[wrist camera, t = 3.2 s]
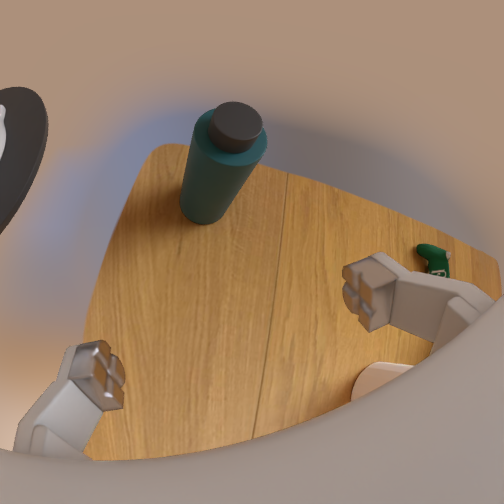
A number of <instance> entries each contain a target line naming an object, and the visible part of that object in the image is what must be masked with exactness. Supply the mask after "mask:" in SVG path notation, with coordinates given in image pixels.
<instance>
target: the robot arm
mask: <svg viewBox="0 0 504 504" xmlns="http://www.w3.org/2000/svg"><path fill="white" fill-rule="evenodd" d="M5 112H6V109H5V107H4V106H3V105H0V159H1V157H2V154H3V151H4V147H5V142H6V130H5V126H4V117H5ZM342 277H343V278H344V279H345V280H346V282H345V284H344V286H343V288H342V291H343V298H344V302H345V304H346V306H347V308H348V309H349V310H350V312H351V313H354V314H357V315H359V319H358V321H359V322H360V323H361V324H362V326H363V327H364V328H365V329H366V330H367V331H368V332H369V333H370V332H372V331H374V330H376V329H378V328H380V327H382V326H385V325H387V324H390V325H392V326H394V327H397V328H399V329H401V330H404V331H406V332H409V333H411V334H413V335H416V336H418V337H421V338H423V339H425V340H428V341H430V342H433V343H434V344H433V346H432V349H431V352H430V355H429V356H428V357H427V358H426V359H424V360H423V361H421V362H420V363H418V364H417V365H415V366H413V367H412V368H410V369H409V370H407V371H406V372H404V373H402V374H401V375H399V376H397V377H396V378H394V379H392V380H391V381H389V382H387V383H385V384H383V385H382V386H380V387H378V388H376V389H374V390H373V391H371V392H369V393H367V394H365V395H363V396H361V397H359V398H357V399H355V400H353V401H351V402H349V403H347V404H345V405H342V406H340V407H338V408H336V409H334V410H331V411H329V412H327V413H324V414H322V415H320V416H317V417H315V418H312V419H310V420H307V421H305V422H302V423H300V424H297V425H294V426H291V427H289V428H286V429H283V430H280V431H277V432H274V433H271V434H268V435H264V436H261V437H258V438H254V439H251V440H247V441H244V442H240V443H236V444H232V445H228V446H223V447H219V448H214V449H210V450H205V451H200V452H194V453H188V454H182V455H175V456H167V457H159V458H149V459H136V460H113V461H94V460H92V458H90V457H88V456H87V455H85V454H84V453H82V452H83V450H84V449H85V447H86V445H87V443H88V441H89V439H90V437H91V435H92V433H93V431H94V429H95V428H96V426H97V424H98V422H99V420H100V418H101V416H102V415H103V412H104V411H111V410H118V409H123V403H124V392H123V391H122V389H121V387H122V386H123V385H124V383H125V371H124V367H123V365H122V363H121V361H120V360H119V358H118V357H117V356H115V355H113V354H111V353H110V352H111V347H110V346H109V345H108V343H107V342H106V341H104V340H98V341H94V342H89V343H84V344H80V345H75V346H70V347H68V348H67V349H66V352H65V354H64V357H63V360H62V363H61V366H60V369H59V373H58V376H57V380H56V381H54V382H52V383H51V384H50V386H49V387H48V388H47V389H46V390H45V392H44V393H43V394H42V395H41V396H40V398H39V399H38V400H37V401H36V402H35V403H34V405H33V406H32V407H31V408H30V409H29V411H28V412H27V413H26V414H25V416H24V417H23V418H22V419H21V421H20V422H19V424H18V428H17V432H16V437H15V442H14V447H13V451H8V450H4V449H0V504H504V294H503V295H502V296H501V297H500V298H499V299H498V300H497V301H494V300H493V299H492V298H491V297H489V296H488V295H487V294H485V293H484V292H483V291H482V290H480V289H479V288H478V287H476V286H475V285H474V284H472V283H468V282H463V281H459V280H454V279H450V278H445V277H440V276H435V275H431V274H426V273H421V272H416V271H413V272H410V271H408V270H407V269H405V268H404V267H403V266H401V265H400V264H399V263H397V262H396V261H395V260H393V259H392V258H390V257H389V256H388V255H386V254H385V253H384V252H378V253H375V254H373V255H370V256H368V257H367V258H364V259H362V260H359V261H356V262H354V263H351V264H348V265H346V266H343V270H342Z"/></svg>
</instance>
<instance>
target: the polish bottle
mask: <svg viewBox="0 0 504 504" xmlns="http://www.w3.org/2000/svg"><path fill="white" fill-rule="evenodd" d="M266 148H267V136H266V132H265V130H264V128H263V122H262V119H261V117H260V115H259V114H258V113H257V111H256V110H254V109H253V108H252V107H250V106H248V105H246V104H243V103H240V102H226V103H223V104H221V105H219V106H218V107H217V108H216V109H212V110H209V111H208V112H206V113H204V114H203V115H202V116H201V117H200V118H199V119H198V121H197V122H196V124H195V127H194V131H193V136H192V140H191V144H190V149H189V154H188V158H187V163H186V168H185V173H184V179H183V184H182V189H181V195H180V207H181V210H182V212H183V213H184V215H185V216H186V217H187V218H188V219H189V220H191V221H193V222H195V223H198V224H211V223H214V222H216V221H218V220H219V219H220V218H221V217H222V216H223V215H224V213H225V212H226V210H227V209H228V207H229V205H230V204H231V202H232V201H233V199H234V198H235V196H236V195H237V193H238V192H239V190H240V189H241V187H242V186H243V184H244V183H245V181H246V180H247V178H248V177H249V175H250V174H251V172H252V171H253V169H254V168H255V166H256V165H257V163H258V162H259V160H260V159H261V158H262V156H263V155H264V153H265V151H266Z"/></svg>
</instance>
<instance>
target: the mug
mask: <svg viewBox="0 0 504 504" xmlns="http://www.w3.org/2000/svg"><path fill="white" fill-rule="evenodd" d="M412 367H413V365H404V364H396V363H389V362H375V363H373V364H371V365H369V366H368V367H366V368H365V369H364V370H363V371H362V372H361V373H360V375H359V377H358V378H357V380H356V382H355V384H354V387H353V390H352V395H351V401H353V400H355V399H357V398H359V397H361V396H363V395H365V394H367V393H369V392H371V391H373V390H374V389H376V388H378V387H380V386H382V385H383V384H385V383H387V382H389V381H391V380H392V379H394V378H396V377H397V376H399V375H401V374H402V373H404V372H406V371H407V370H409V369H410V368H412Z"/></svg>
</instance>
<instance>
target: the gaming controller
mask: <svg viewBox="0 0 504 504" xmlns="http://www.w3.org/2000/svg"><path fill="white" fill-rule="evenodd" d="M417 253H418V254H419V255H421V256H422V257H424V258H426V259H427V260H428V262H429V263H428V269H429V274H431V275H435V276H440V277H445V278H450V273H449V263H448V260H449V259H450V256H451V254H450V252H447V251H445V250H443V249H441V248H438V247H436V246H433V245H430V244H418V245H417Z"/></svg>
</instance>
